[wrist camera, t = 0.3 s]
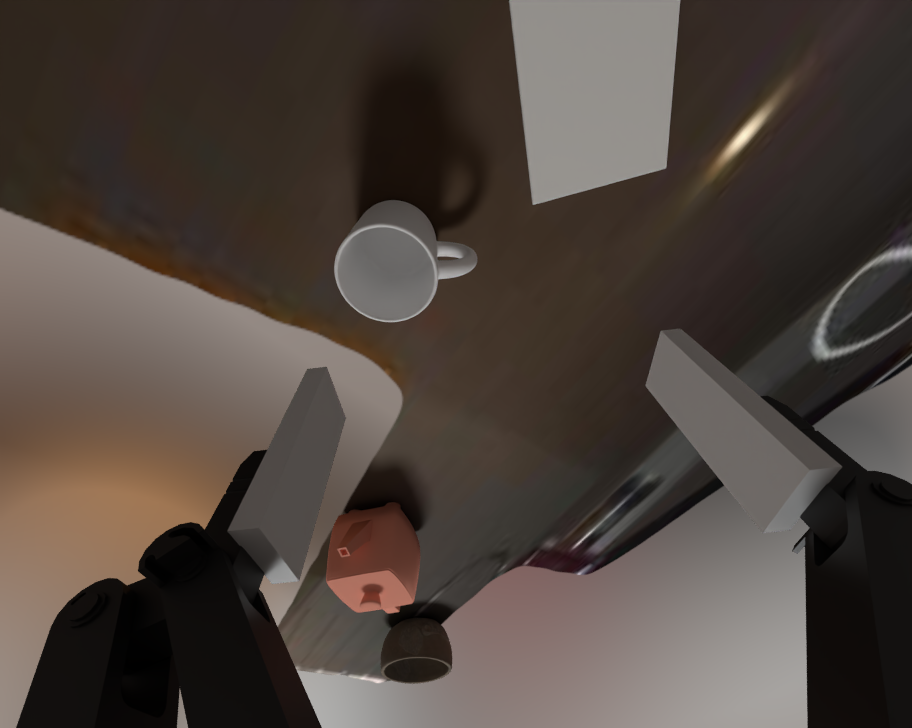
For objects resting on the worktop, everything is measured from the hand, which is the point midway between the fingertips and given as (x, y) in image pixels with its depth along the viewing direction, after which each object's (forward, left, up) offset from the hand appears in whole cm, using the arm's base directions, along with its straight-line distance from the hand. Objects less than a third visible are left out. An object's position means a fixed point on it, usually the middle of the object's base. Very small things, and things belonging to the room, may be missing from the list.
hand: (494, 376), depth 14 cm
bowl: (+95, -34, -27) cm, 104 cm away
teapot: (+47, -26, -27) cm, 60 cm away
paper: (-7, +14, -27) cm, 31 cm away
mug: (+1, -5, -27) cm, 27 cm away
